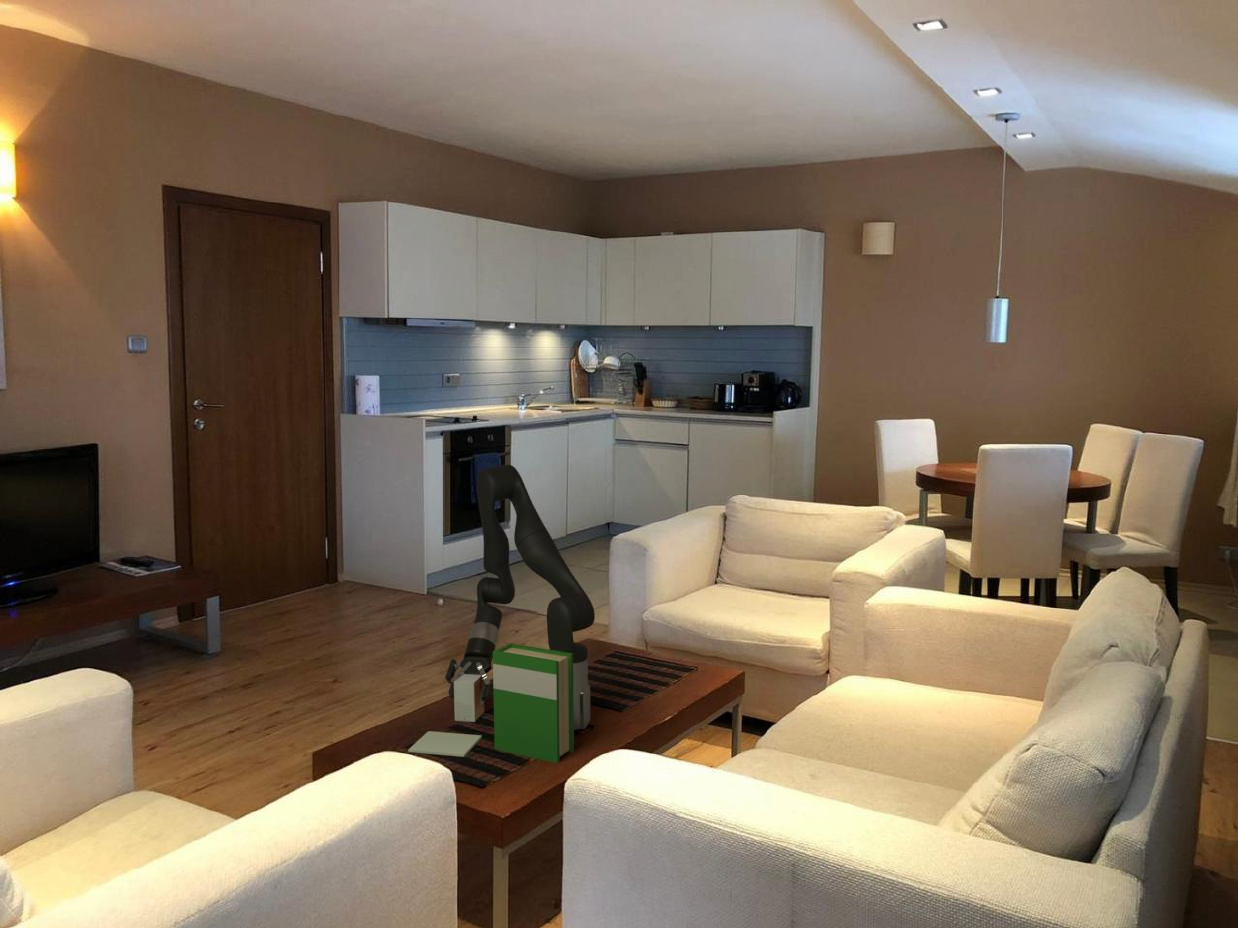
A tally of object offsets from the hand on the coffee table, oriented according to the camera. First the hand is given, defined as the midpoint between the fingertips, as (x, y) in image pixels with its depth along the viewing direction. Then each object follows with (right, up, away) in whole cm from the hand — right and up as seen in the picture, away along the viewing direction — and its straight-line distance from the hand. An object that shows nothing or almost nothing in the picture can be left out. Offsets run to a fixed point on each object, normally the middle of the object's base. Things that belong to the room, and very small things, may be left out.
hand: (467, 698), depth 259 cm
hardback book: (+19, -8, -20) cm, 29 cm away
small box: (0, -5, +2) cm, 6 cm away
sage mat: (-3, -7, -17) cm, 18 cm away
